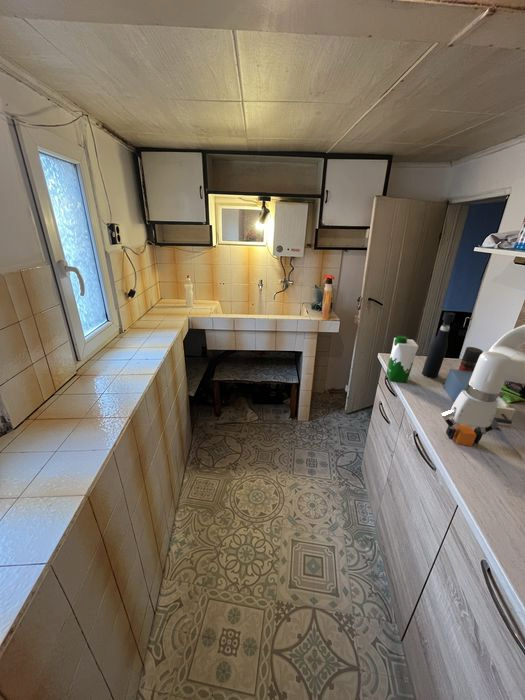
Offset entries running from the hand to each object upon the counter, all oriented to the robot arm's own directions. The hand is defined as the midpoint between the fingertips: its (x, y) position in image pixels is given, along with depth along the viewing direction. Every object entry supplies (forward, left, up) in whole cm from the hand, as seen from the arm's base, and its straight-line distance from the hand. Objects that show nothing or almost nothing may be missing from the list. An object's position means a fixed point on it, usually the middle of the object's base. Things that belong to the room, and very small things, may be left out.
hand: (461, 438), depth 91 cm
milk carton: (+13, -37, -1) cm, 39 cm away
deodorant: (-17, -45, -1) cm, 48 cm away
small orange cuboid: (0, 0, -1) cm, 1 cm away
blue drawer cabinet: (-12, -27, -1) cm, 30 cm away
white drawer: (-12, -15, 0) cm, 19 cm away
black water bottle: (-3, -45, -1) cm, 45 cm away
